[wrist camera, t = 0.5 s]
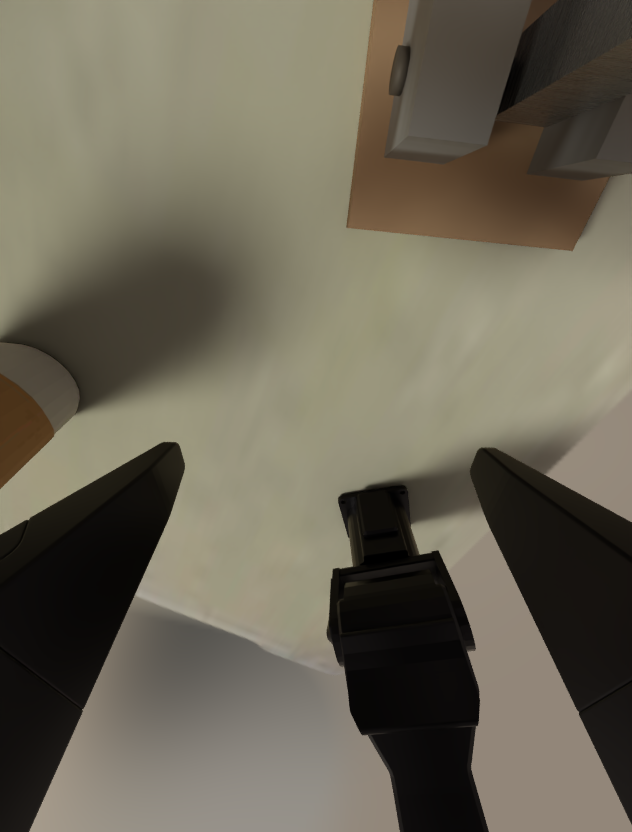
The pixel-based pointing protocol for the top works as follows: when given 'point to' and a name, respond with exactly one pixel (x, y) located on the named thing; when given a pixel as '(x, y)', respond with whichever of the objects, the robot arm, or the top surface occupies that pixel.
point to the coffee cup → (31, 404)
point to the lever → (569, 62)
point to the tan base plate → (472, 133)
